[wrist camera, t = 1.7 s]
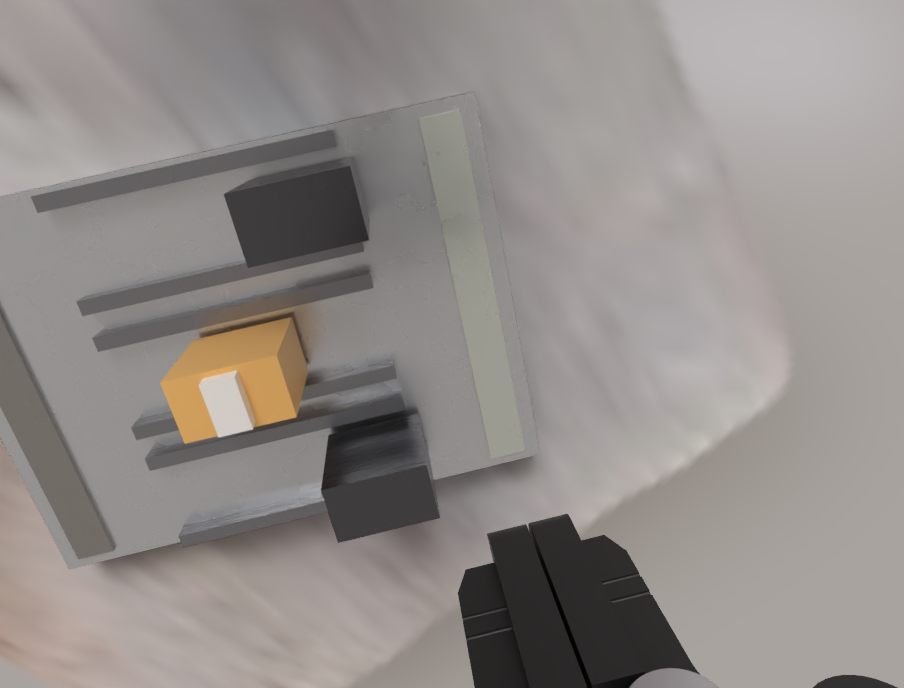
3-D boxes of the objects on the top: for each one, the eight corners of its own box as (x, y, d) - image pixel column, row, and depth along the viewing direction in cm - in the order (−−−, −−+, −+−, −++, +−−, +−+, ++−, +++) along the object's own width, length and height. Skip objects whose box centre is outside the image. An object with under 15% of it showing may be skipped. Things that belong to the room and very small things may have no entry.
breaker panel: (-77, 213, 25) (-226, 247, 19) (467, 93, 26) (498, 87, 20) (87, 541, 31) (14, 652, 25) (530, 434, 32) (570, 514, 26)
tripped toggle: (193, 339, 26) (154, 389, 21) (291, 316, 26) (274, 361, 21) (213, 393, 27) (179, 452, 22) (308, 370, 27) (295, 424, 22)
